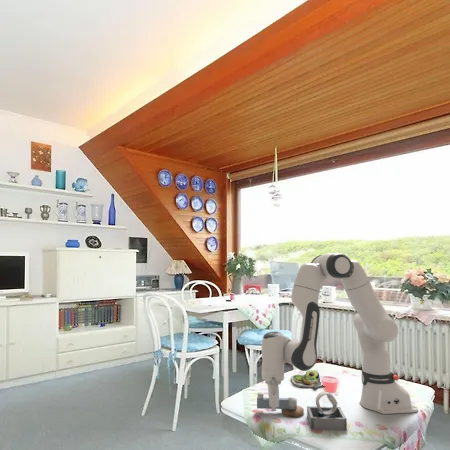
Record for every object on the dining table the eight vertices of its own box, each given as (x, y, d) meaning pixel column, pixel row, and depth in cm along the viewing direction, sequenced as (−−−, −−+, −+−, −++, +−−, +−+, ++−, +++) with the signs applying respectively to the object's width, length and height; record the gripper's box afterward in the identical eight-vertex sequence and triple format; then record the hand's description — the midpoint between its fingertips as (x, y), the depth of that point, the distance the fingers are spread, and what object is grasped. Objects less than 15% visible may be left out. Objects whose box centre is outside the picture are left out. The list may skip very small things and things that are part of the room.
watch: (340, 424, 145) (339, 394, 146) (320, 426, 143) (319, 396, 144) (333, 418, 150) (332, 389, 151) (314, 419, 149) (313, 390, 150)
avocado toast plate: (332, 391, 183) (331, 381, 183) (294, 390, 184) (294, 380, 184) (323, 378, 202) (323, 369, 203) (289, 377, 203) (289, 368, 203)
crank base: (302, 408, 162) (302, 404, 162) (305, 417, 153) (304, 413, 153) (280, 408, 163) (280, 404, 163) (282, 417, 154) (282, 413, 154)
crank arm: (296, 406, 160) (296, 392, 160) (297, 410, 156) (297, 395, 156) (257, 405, 161) (256, 391, 161) (257, 409, 157) (256, 394, 158)
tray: (340, 417, 153) (340, 407, 153) (346, 430, 142) (346, 419, 142) (307, 416, 154) (306, 406, 154) (311, 429, 143) (310, 418, 143)
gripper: (282, 383, 142) (283, 421, 141) (279, 366, 163) (280, 400, 162) (265, 382, 143) (266, 421, 142) (264, 366, 163) (265, 400, 162)
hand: (273, 410), depth 152 cm, fingers closed
